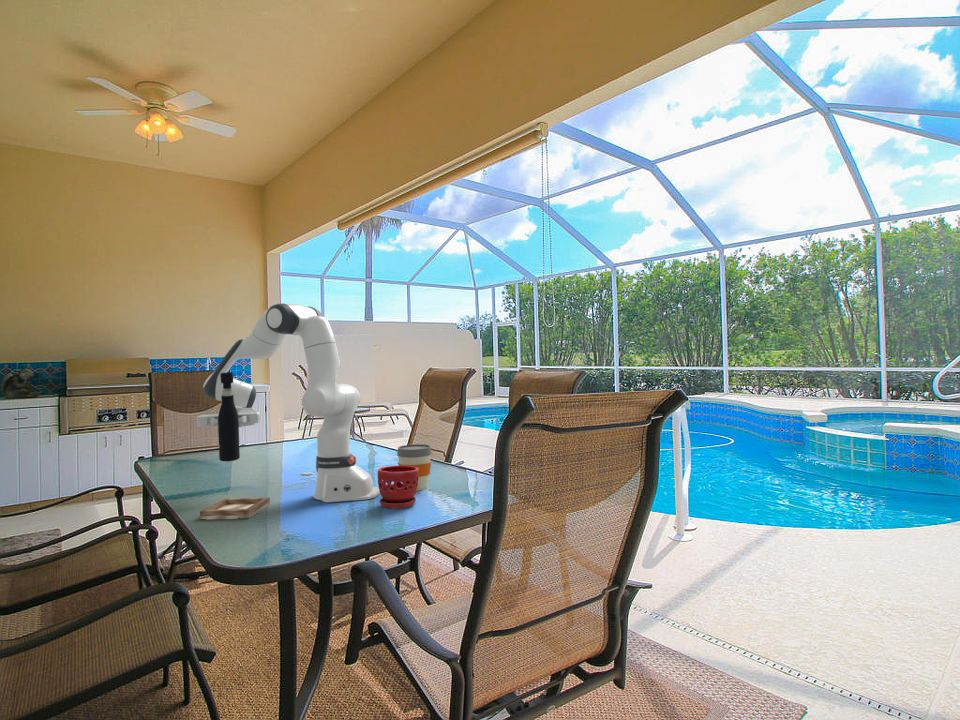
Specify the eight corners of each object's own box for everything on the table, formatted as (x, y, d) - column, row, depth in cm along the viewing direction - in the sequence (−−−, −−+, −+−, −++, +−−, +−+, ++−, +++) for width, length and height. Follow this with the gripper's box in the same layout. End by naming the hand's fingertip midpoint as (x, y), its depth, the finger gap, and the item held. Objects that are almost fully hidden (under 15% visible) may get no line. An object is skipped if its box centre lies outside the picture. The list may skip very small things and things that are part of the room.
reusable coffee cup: (430, 491, 186) (429, 449, 186) (395, 492, 186) (394, 450, 186) (434, 483, 198) (433, 443, 198) (401, 484, 198) (400, 444, 198)
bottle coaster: (269, 505, 173) (269, 497, 173) (249, 518, 158) (248, 510, 158) (225, 506, 174) (224, 498, 174) (200, 519, 159) (199, 511, 159)
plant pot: (413, 511, 162) (412, 472, 162) (372, 510, 163) (371, 472, 163) (423, 499, 175) (422, 463, 175) (385, 499, 176) (384, 464, 176)
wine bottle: (243, 457, 184) (241, 372, 180) (229, 462, 178) (226, 375, 174) (229, 454, 186) (227, 371, 182) (215, 459, 180) (211, 373, 176)
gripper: (197, 410, 188) (193, 413, 175) (259, 407, 196) (259, 409, 184) (197, 428, 188) (194, 432, 175) (259, 424, 196) (260, 427, 184)
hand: (228, 421), depth 179 cm, fingers closed on wine bottle, 6 cm apart
